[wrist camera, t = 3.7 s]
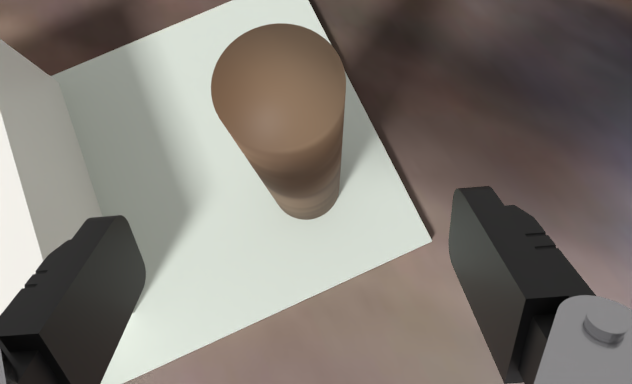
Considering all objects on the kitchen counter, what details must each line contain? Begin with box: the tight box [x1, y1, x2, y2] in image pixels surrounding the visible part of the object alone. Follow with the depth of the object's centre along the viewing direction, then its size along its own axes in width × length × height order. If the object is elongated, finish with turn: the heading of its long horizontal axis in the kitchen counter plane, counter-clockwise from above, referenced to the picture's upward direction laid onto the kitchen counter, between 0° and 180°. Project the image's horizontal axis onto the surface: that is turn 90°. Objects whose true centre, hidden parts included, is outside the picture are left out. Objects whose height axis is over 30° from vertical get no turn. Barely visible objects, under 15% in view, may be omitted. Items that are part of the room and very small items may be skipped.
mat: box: [51, 0, 432, 384], centre depth 20 cm, size 26×15×1 cm, turn 114°
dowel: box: [211, 23, 346, 220], centre depth 14 cm, size 3×3×10 cm
